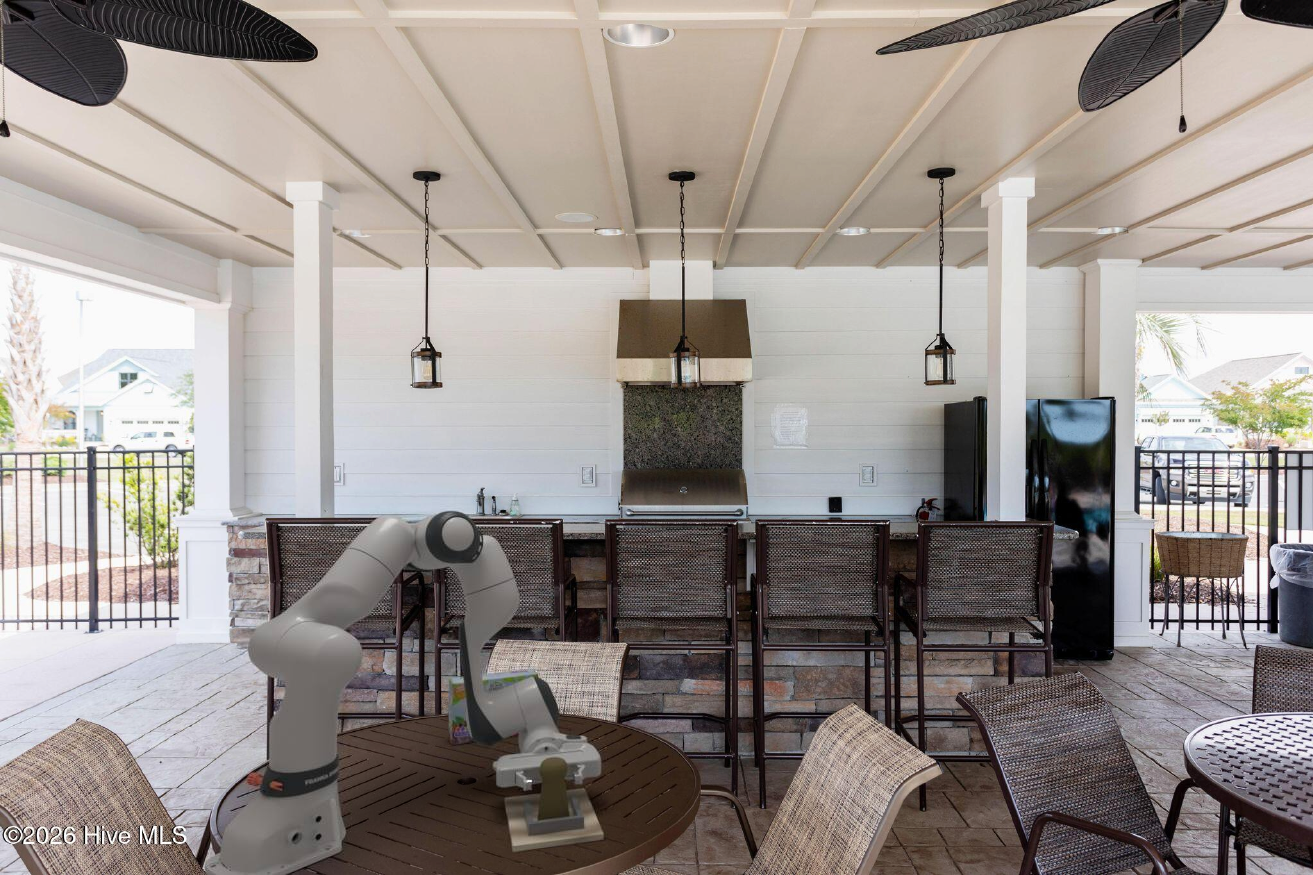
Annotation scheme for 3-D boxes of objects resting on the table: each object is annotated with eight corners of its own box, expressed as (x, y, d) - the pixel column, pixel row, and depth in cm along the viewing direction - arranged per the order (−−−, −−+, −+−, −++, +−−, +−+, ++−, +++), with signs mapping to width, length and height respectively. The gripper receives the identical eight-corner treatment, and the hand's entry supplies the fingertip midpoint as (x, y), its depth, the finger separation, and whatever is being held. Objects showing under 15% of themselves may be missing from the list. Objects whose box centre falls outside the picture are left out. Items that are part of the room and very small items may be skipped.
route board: (504, 802, 152) (504, 797, 152) (584, 793, 156) (584, 788, 156) (512, 851, 133) (512, 846, 133) (603, 839, 137) (603, 833, 137)
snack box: (452, 746, 183) (452, 683, 183) (448, 739, 188) (448, 677, 188) (538, 733, 192) (538, 672, 192) (532, 726, 197) (532, 666, 197)
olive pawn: (572, 812, 146) (572, 753, 146) (566, 827, 140) (566, 766, 140) (540, 811, 146) (540, 753, 146) (534, 826, 140) (534, 765, 140)
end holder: (523, 813, 145) (523, 802, 145) (576, 806, 148) (576, 796, 148) (528, 835, 137) (528, 824, 137) (584, 828, 139) (584, 817, 139)
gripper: (492, 745, 153) (496, 772, 140) (593, 735, 158) (606, 760, 145) (492, 777, 153) (496, 807, 139) (593, 765, 158) (606, 793, 145)
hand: (553, 783), depth 142 cm, fingers open, 8 cm apart
